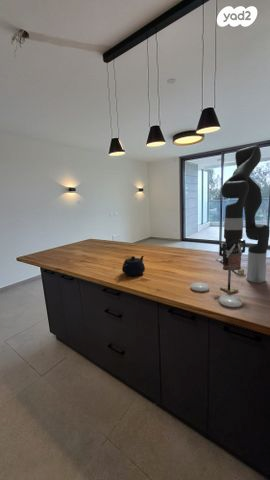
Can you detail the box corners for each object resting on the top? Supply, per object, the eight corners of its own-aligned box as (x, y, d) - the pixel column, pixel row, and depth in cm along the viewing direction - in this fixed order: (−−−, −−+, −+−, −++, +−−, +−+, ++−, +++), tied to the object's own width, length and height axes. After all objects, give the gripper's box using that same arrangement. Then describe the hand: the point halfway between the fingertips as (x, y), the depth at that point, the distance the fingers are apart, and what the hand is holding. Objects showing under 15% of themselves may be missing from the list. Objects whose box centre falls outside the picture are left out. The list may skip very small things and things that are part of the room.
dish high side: (200, 283, 124) (200, 281, 123) (213, 289, 115) (213, 287, 115) (186, 287, 119) (186, 284, 119) (199, 293, 111) (199, 291, 110)
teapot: (133, 281, 132) (132, 262, 130) (114, 277, 141) (113, 259, 139) (153, 269, 153) (152, 253, 150) (135, 266, 161) (134, 251, 159)
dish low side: (228, 296, 106) (228, 293, 106) (247, 304, 97) (247, 301, 97) (214, 301, 102) (214, 298, 101) (232, 310, 93) (232, 307, 93)
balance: (219, 284, 122) (219, 258, 119) (247, 295, 106) (248, 265, 104) (212, 286, 120) (213, 259, 117) (240, 297, 104) (241, 267, 101)
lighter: (238, 267, 98) (239, 246, 97) (242, 269, 95) (243, 248, 93) (221, 268, 98) (222, 247, 96) (224, 270, 95) (225, 248, 93)
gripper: (237, 225, 100) (235, 259, 103) (214, 228, 94) (214, 264, 96) (251, 227, 93) (249, 263, 96) (229, 230, 87) (227, 268, 90)
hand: (231, 263), depth 96 cm, fingers closed on lighter, 7 cm apart
